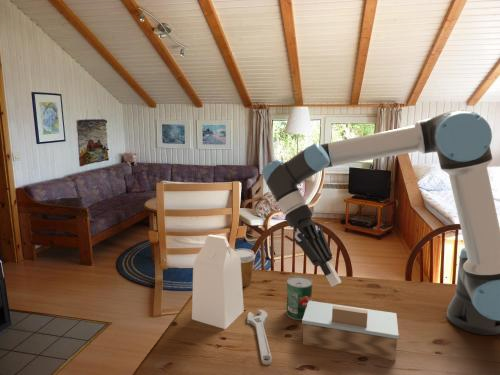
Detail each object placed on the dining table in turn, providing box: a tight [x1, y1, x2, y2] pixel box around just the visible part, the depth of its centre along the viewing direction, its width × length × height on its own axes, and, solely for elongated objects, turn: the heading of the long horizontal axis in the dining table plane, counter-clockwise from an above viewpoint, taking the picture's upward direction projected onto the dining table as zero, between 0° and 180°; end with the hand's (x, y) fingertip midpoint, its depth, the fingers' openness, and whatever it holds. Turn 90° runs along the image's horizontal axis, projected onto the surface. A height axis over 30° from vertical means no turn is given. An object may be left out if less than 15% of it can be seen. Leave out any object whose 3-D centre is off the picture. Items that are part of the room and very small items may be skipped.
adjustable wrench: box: [246, 309, 273, 366], centre depth 110 cm, size 25×6×2 cm, turn 1°
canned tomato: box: [286, 275, 313, 321], centre depth 121 cm, size 8×8×11 cm
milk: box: [191, 234, 245, 330], centre depth 119 cm, size 12×12×26 cm
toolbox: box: [302, 323, 398, 361], centre depth 108 cm, size 24×11×6 cm, turn 73°
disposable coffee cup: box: [233, 248, 256, 288], centre depth 143 cm, size 10×10×12 cm
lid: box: [301, 300, 400, 340], centre depth 106 cm, size 25×11×5 cm, turn 73°
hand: (336, 284), depth 106 cm, fingers closed
